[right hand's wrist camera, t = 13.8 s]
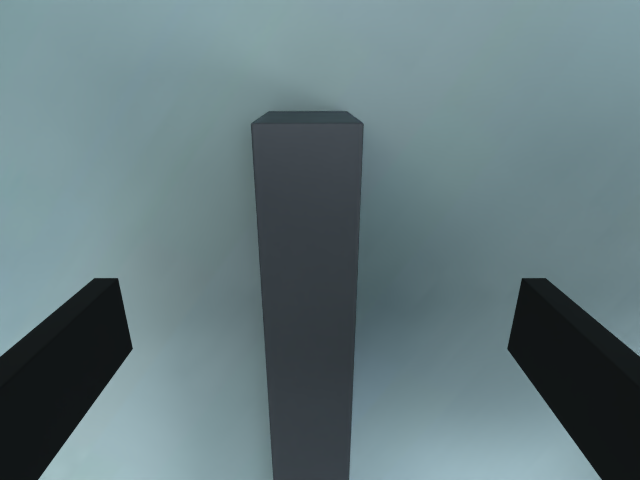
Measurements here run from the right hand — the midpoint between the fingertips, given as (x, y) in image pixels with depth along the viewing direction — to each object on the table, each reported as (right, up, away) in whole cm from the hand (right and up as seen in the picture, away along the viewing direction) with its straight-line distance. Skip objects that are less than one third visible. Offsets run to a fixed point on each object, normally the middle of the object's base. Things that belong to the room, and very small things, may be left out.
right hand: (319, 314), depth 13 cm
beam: (-1, -23, +24) cm, 33 cm away
